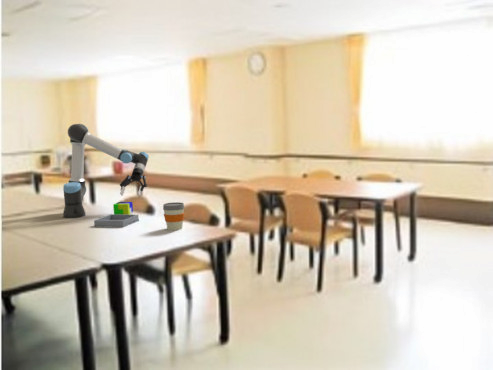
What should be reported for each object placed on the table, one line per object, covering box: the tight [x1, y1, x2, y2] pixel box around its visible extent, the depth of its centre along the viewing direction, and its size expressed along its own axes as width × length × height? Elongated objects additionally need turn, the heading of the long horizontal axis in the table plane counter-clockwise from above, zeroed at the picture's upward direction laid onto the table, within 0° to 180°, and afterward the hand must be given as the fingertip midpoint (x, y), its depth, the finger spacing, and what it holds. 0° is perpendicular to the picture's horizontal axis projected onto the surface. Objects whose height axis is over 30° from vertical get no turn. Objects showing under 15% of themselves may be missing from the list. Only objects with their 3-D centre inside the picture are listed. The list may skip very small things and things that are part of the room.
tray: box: [93, 213, 140, 228], centre depth 341 cm, size 20×20×4 cm
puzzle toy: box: [112, 201, 134, 215], centre depth 362 cm, size 10×10×10 cm
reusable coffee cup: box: [162, 201, 185, 231], centre depth 318 cm, size 13×13×15 cm
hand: (130, 194), depth 370 cm, fingers open, 13 cm apart
